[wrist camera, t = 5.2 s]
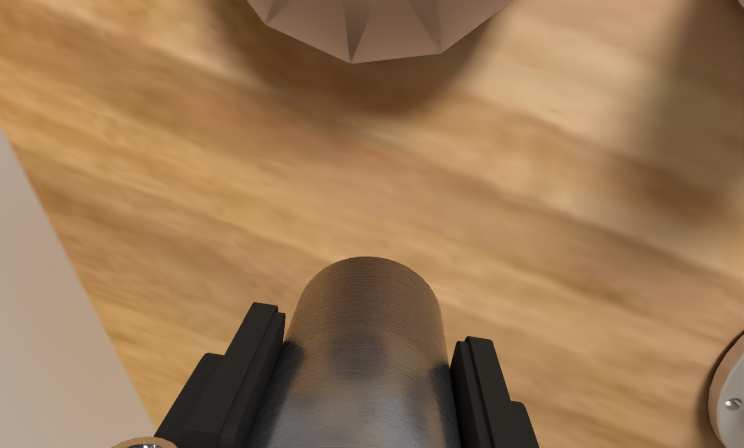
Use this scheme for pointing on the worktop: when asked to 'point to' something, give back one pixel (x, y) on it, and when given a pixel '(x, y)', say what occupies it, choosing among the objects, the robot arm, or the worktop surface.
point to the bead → (376, 25)
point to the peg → (361, 365)
